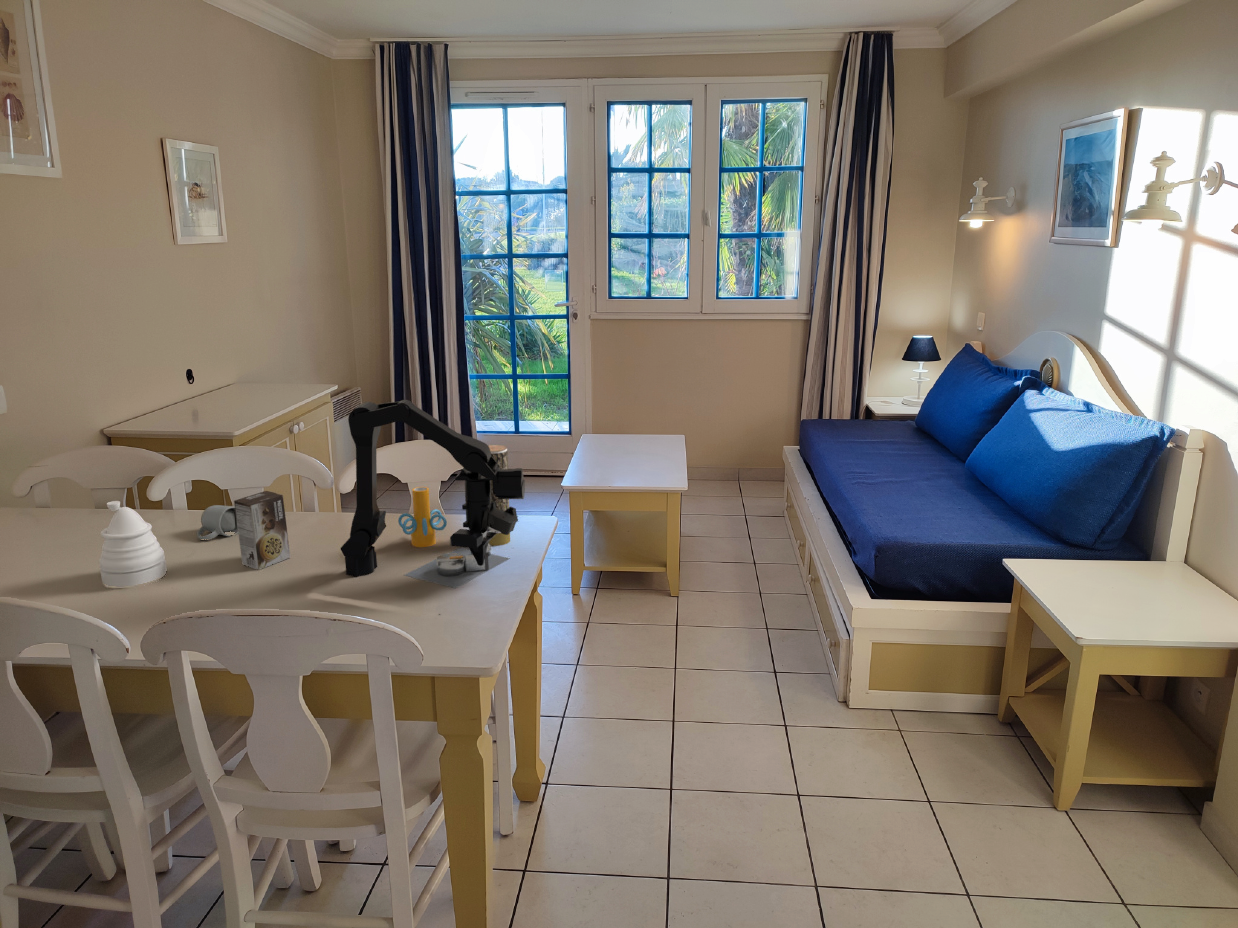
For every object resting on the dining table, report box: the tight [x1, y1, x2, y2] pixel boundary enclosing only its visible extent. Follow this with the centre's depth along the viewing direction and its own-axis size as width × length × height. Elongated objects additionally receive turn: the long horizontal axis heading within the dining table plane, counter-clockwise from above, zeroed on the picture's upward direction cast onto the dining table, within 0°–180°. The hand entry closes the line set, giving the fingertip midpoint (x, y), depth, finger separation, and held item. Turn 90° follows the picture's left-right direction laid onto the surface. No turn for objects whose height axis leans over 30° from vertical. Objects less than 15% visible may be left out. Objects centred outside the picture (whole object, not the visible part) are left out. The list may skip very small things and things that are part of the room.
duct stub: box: [470, 543, 492, 556], centre depth 202 cm, size 4×3×3 cm
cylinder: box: [397, 486, 448, 548], centre depth 209 cm, size 12×10×15 cm
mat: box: [404, 547, 511, 589], centre depth 196 cm, size 20×15×1 cm
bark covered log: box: [487, 444, 511, 547], centre depth 209 cm, size 7×7×25 cm
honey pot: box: [98, 500, 168, 587], centre depth 190 cm, size 13×13×18 cm
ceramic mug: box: [196, 504, 238, 540], centre depth 218 cm, size 11×8×8 cm
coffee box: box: [233, 490, 291, 570], centre depth 199 cm, size 9×6×16 cm
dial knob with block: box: [435, 552, 490, 576], centre depth 193 cm, size 12×6×3 cm, turn 104°
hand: (480, 565), depth 192 cm, fingers closed
